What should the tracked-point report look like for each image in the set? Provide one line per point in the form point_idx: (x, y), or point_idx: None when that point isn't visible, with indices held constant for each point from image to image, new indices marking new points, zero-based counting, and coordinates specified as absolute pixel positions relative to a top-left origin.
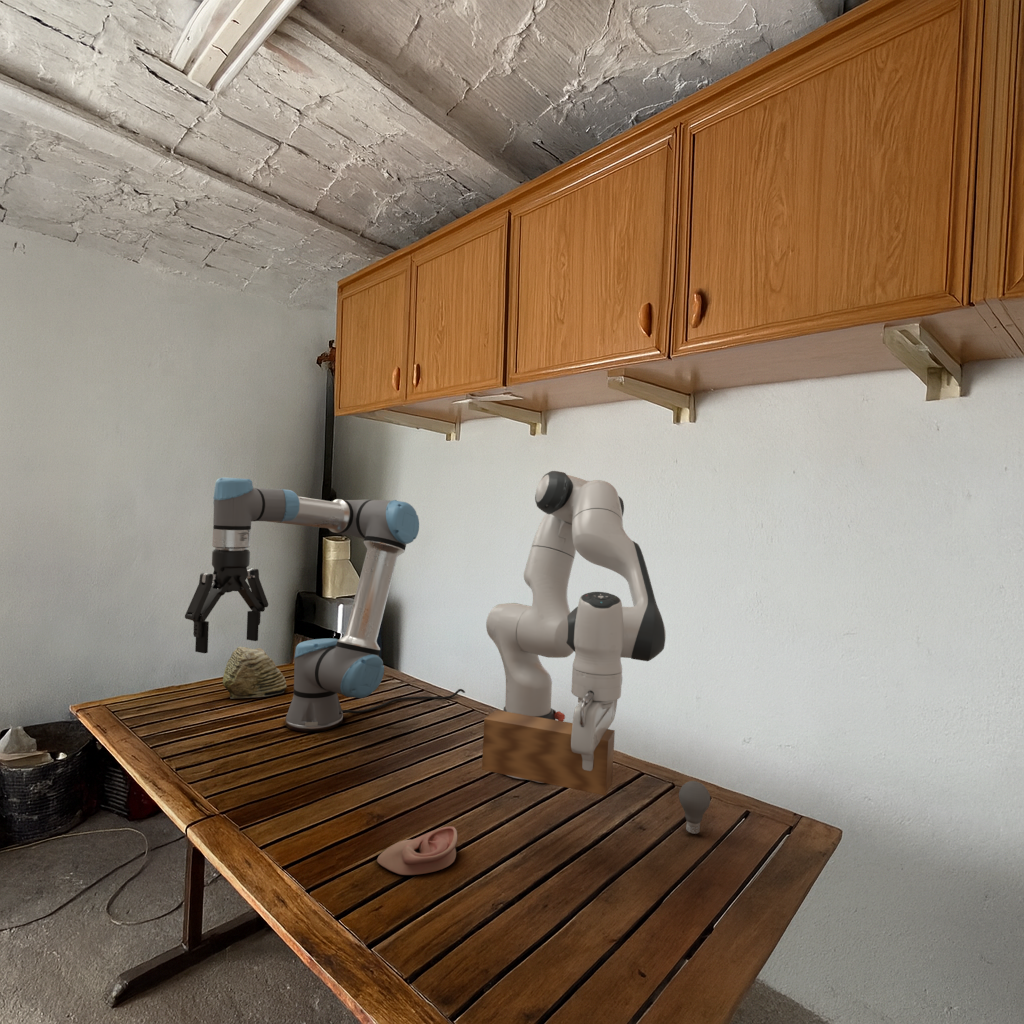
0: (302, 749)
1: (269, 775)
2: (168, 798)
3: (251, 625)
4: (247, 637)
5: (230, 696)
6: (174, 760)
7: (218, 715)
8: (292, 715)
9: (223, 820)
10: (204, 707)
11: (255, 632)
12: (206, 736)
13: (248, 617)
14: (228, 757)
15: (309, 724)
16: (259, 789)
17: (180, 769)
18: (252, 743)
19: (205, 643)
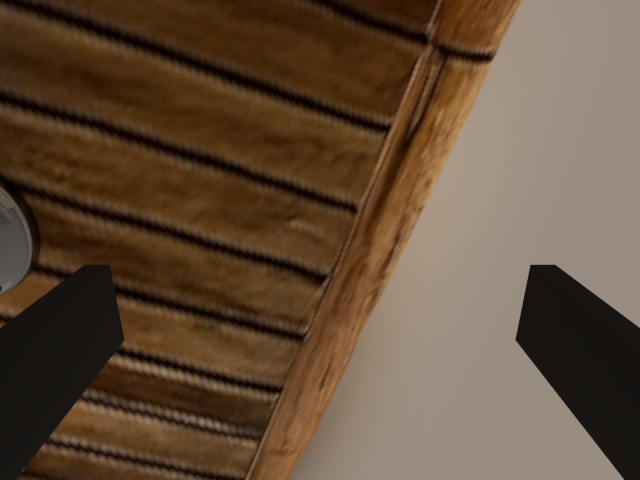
0: (97, 133)
1: (244, 91)
2: (421, 190)
3: (49, 375)
4: (114, 343)
5: (20, 473)
6: (297, 315)
7: (98, 419)
8: (11, 257)
9: (449, 8)
10: (91, 468)
11: (72, 298)
12: (185, 356)
13: (9, 469)
14: (229, 241)
15: (3, 198)
16: (307, 55)
17: (320, 274)
18: (149, 256)
19: (594, 296)
